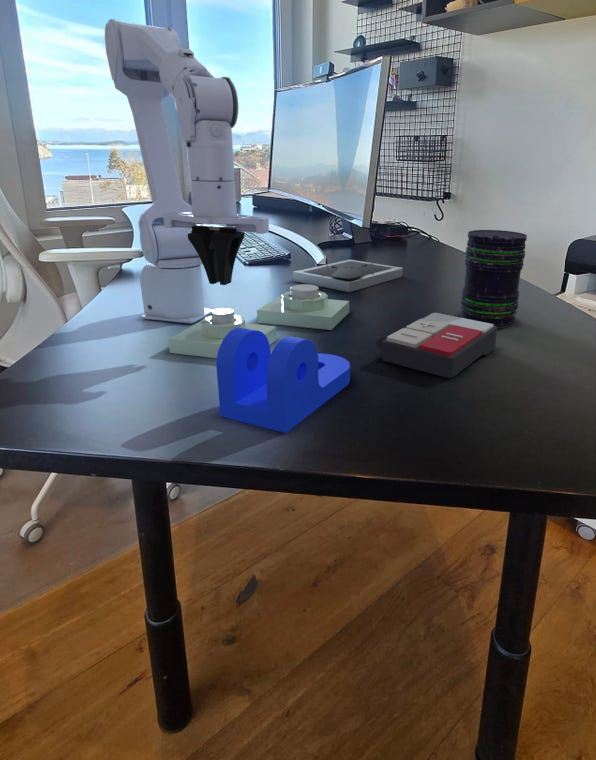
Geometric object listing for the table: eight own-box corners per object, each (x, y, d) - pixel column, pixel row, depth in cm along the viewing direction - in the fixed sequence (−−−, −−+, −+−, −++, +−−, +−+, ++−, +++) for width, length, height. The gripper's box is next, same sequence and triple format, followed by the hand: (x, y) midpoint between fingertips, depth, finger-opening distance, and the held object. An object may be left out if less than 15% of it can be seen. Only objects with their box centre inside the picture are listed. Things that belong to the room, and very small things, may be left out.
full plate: (257, 322, 92) (256, 299, 90) (281, 306, 102) (281, 285, 100) (331, 330, 89) (331, 306, 87) (349, 312, 99) (349, 291, 97)
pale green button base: (169, 353, 77) (166, 325, 76) (205, 332, 86) (202, 307, 84) (248, 362, 75) (246, 334, 73) (276, 340, 84) (275, 314, 82)
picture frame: (349, 292, 113) (402, 276, 129) (349, 278, 112) (403, 264, 128) (293, 281, 121) (349, 267, 137) (292, 268, 120) (349, 256, 136)
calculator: (380, 335, 75) (433, 308, 86) (380, 364, 77) (431, 334, 88) (452, 353, 69) (498, 321, 80) (450, 383, 71) (496, 348, 82)
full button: (286, 299, 92) (286, 289, 92) (296, 293, 97) (296, 283, 96) (313, 302, 91) (313, 291, 91) (322, 295, 96) (322, 285, 95)
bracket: (285, 433, 56) (282, 350, 53) (220, 416, 59) (213, 337, 56) (360, 375, 71) (362, 308, 68) (305, 364, 74) (304, 299, 71)
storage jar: (462, 310, 103) (470, 228, 97) (516, 315, 100) (527, 232, 94) (456, 324, 94) (464, 235, 88) (514, 330, 91) (527, 239, 86)
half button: (207, 324, 78) (206, 313, 77) (218, 318, 81) (217, 307, 80) (228, 327, 77) (227, 315, 76) (238, 321, 80) (237, 309, 79)
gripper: (144, 179, 69) (157, 285, 75) (250, 183, 66) (256, 293, 72) (175, 177, 76) (185, 274, 81) (273, 181, 73) (277, 282, 78)
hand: (220, 283), depth 77 cm, fingers closed
